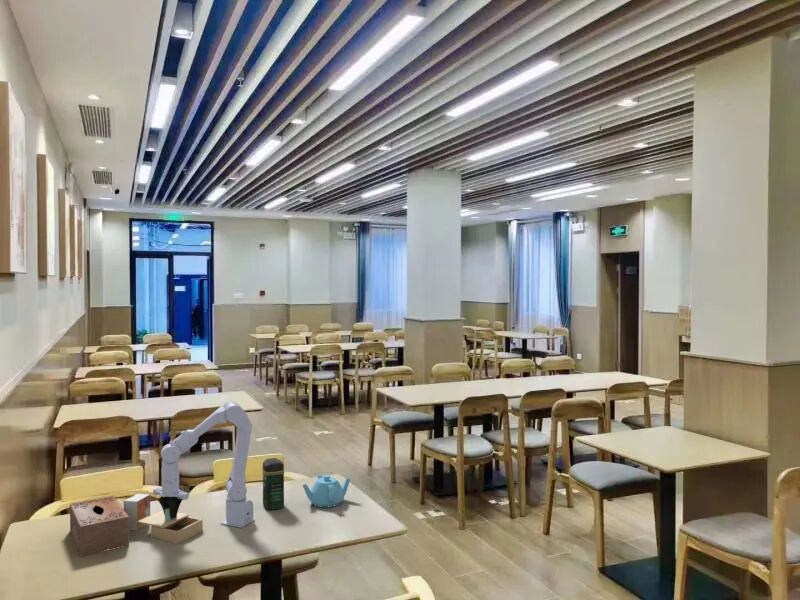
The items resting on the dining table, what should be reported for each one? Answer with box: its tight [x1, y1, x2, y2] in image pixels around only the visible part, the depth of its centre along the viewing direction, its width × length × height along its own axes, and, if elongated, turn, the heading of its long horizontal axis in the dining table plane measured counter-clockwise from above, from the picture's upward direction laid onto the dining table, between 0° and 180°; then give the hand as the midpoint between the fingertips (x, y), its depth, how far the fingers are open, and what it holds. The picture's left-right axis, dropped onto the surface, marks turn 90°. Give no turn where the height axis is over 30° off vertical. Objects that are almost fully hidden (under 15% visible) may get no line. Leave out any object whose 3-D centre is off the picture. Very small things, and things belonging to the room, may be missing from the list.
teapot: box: [302, 474, 351, 508], centre depth 241 cm, size 15×15×11 cm
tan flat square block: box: [137, 508, 190, 528], centre depth 212 cm, size 12×12×5 cm
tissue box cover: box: [69, 495, 130, 557], centre depth 207 cm, size 26×14×10 cm, turn 36°
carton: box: [150, 516, 204, 545], centre depth 210 cm, size 12×12×4 cm
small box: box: [123, 493, 151, 531], centre depth 217 cm, size 8×6×10 cm
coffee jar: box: [262, 457, 285, 510], centre depth 237 cm, size 10×8×19 cm
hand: (170, 517), depth 211 cm, fingers closed on tan flat square block, 2 cm apart
